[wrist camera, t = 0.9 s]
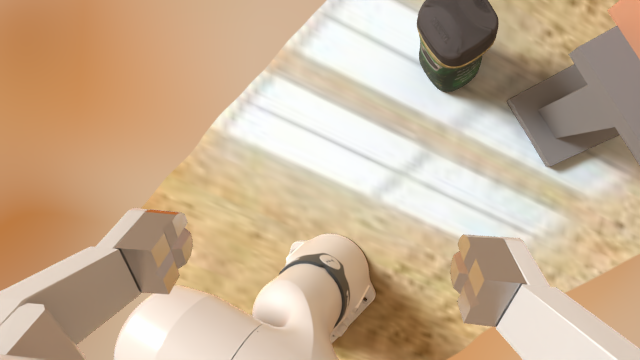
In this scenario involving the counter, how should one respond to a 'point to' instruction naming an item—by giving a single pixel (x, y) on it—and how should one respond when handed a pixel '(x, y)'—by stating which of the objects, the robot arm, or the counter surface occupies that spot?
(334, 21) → the counter surface
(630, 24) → the block
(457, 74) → the coffee jar
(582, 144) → the stand
